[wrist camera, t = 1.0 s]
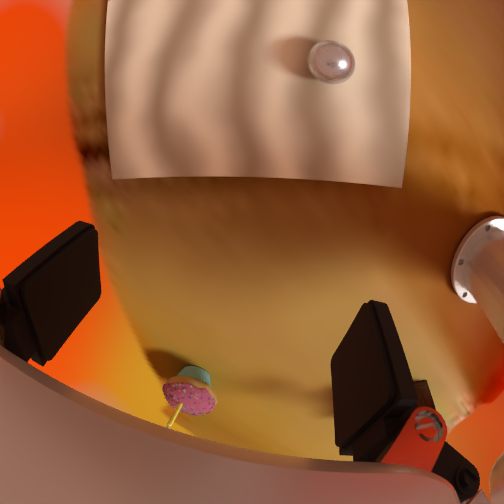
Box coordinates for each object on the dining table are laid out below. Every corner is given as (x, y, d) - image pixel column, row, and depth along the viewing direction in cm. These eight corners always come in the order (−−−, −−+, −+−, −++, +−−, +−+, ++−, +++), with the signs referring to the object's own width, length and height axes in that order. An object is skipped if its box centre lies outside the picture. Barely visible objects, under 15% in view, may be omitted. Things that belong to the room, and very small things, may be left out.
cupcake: (162, 367, 45) (138, 425, 35) (194, 350, 42) (170, 416, 31) (199, 394, 48) (182, 450, 37) (233, 380, 44) (219, 444, 34)
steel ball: (350, 48, 20) (360, 39, 17) (349, 88, 22) (360, 85, 19) (305, 43, 21) (308, 33, 17) (305, 84, 22) (308, 80, 19)
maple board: (388, -73, 12) (391, -79, 11) (396, 184, 27) (401, 188, 26) (124, -61, 15) (118, -66, 14) (119, 175, 30) (112, 179, 29)
